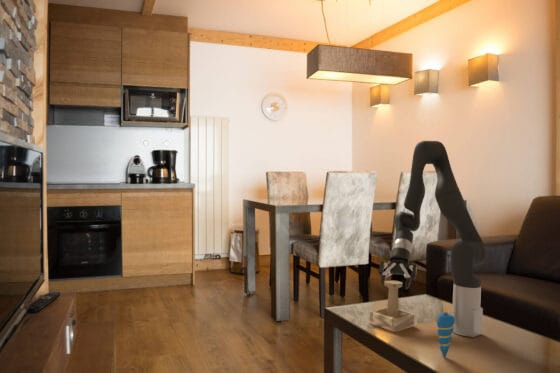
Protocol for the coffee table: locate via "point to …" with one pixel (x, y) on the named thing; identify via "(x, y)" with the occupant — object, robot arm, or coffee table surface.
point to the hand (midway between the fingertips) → (394, 286)
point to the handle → (393, 297)
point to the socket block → (391, 320)
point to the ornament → (445, 331)
